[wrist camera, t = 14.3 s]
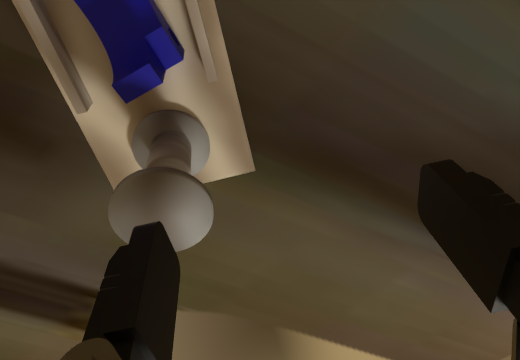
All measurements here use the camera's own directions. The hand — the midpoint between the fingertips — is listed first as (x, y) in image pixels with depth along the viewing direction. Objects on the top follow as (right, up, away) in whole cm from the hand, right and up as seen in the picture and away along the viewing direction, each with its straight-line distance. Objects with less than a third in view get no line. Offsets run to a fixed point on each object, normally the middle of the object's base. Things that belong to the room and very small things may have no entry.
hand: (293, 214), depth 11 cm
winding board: (-11, +12, +19) cm, 25 cm away
